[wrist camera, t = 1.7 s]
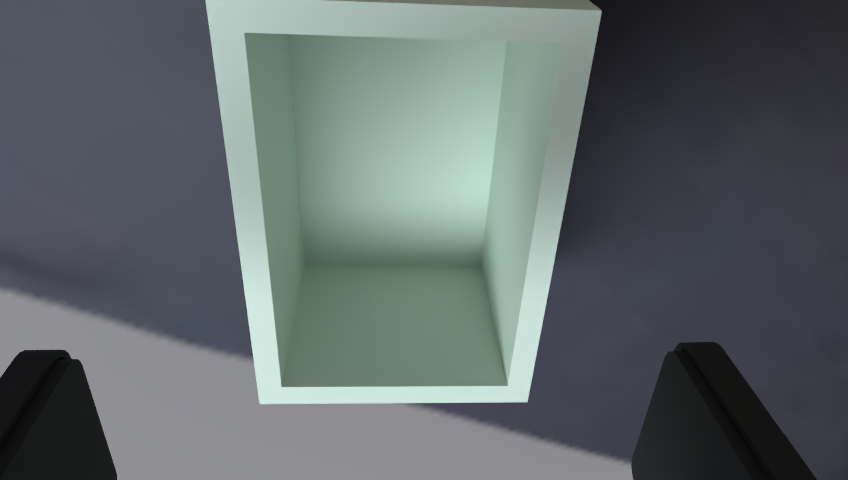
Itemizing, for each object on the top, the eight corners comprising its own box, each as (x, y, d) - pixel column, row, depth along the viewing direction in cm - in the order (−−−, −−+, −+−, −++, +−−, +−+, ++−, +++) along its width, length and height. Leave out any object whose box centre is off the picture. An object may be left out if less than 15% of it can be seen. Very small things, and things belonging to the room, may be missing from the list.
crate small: (535, -42, 16) (602, 10, 11) (494, 271, 22) (527, 401, 17) (262, -54, 16) (204, -5, 11) (289, 269, 21) (259, 404, 16)
